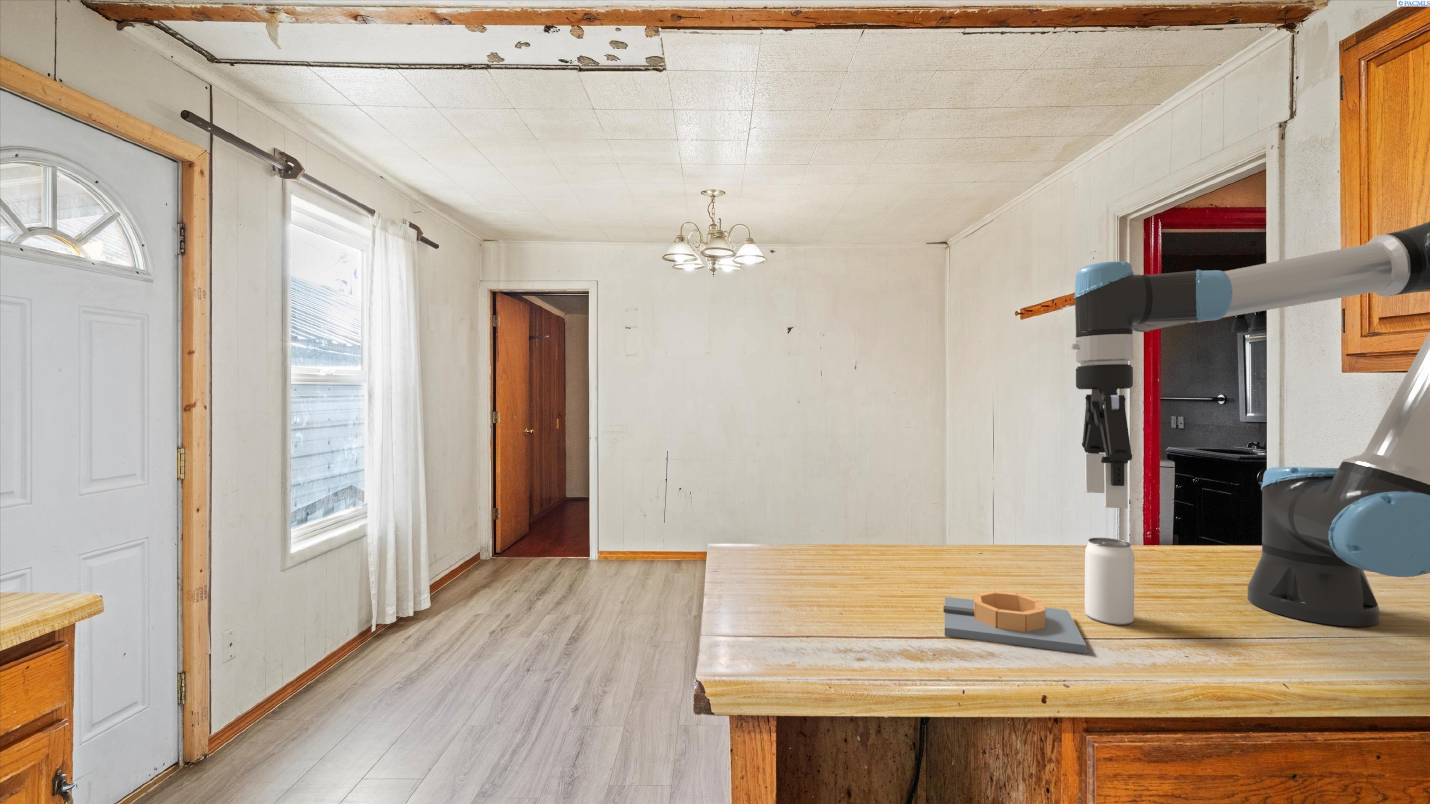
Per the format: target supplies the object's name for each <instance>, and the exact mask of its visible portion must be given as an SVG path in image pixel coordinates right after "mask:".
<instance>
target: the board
mask: <svg viewBox="0 0 1430 804" xmlns="http://www.w3.org/2000/svg"><path fill="white" fill-rule="evenodd" d="M943 613H944V636H946V637H952V638H959V639H960V638H961V639H966V640H967V639H968V640H977V641H983V642H990V643H991V642H992V643H999V644H1005V645H1006V644H1007V645H1013V646H1022V647H1029V648H1038V649H1045V650H1052V651H1053V650H1054V651H1059V652H1060V651H1062V652H1066V653H1067V652H1068V653H1069V652H1070V653H1075V654H1076V653H1077V654H1083V655H1086V654H1087V644H1086V642H1085V640H1084V638H1083V636H1082V634H1081V633H1080V630H1079V628H1078V627H1077V625H1076V623H1075V621H1074V620H1073V618H1072V615H1071V614H1070V611H1069V610H1068V609H1062V608H1052V607H1045V606H1044V604H1043V602H1042V601H1041V600H1039V599H1035V598H1033V597H1030V596H1027V595H1025V594H1021V593H1017V592H1016V593H1015V592H1005V591H996V590H990V591H986V592H985V591H984V592H979V593H975V594H973V599H969V598H968V599H967V598H959V597H951V596H945V597H944V605H943Z"/></svg>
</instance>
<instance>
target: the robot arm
mask: <svg viewBox="0 0 1430 804" xmlns="http://www.w3.org/2000/svg"><path fill="white" fill-rule="evenodd" d="M1074 288H1075V289H1074V296H1073V299H1074V308H1075V309H1074V310H1075V312H1074V313H1075V315H1074V316H1075V343H1073V344H1072V345H1071V349H1072V350H1073V351H1076V352H1075V362H1077V363H1079V364H1080V366H1077V367H1076V368H1075V388H1076V389H1078V390H1091V394H1086V395H1085V398H1084V399H1085V414H1084V421H1083V422H1084V425H1083V434H1082V442H1081V446H1082V448H1083V450H1084V452H1085V453H1084V454H1085V455H1084V461H1085V462H1084V466H1085V467H1084V468H1085V469H1084V470H1085V473H1084V474H1085V478H1084V479H1085V484H1084V485H1085V493H1091V494H1092V493H1093V494H1094V493H1095V494H1104V507H1105V508H1108V509H1109V508H1111V509H1128V508H1129V507H1128V505H1129V504H1128V502H1129V501H1128V497H1129V496H1128V464H1129V462H1130V461H1132V459H1133V454H1132V448H1131V441H1130V434H1129V427H1128V420H1127V412H1126V397H1125V394H1119V393H1118V390H1121V389H1122V390H1127V389H1131V388H1132V387H1133V386H1134V366H1132V364H1129V362H1130V361H1133V360H1134V334H1133V332H1136V333H1137V332H1138V333H1144V332H1145V333H1146V332H1151V331H1154V330H1158V329H1163V328H1170V327H1175V326H1181V325H1185V324H1187V325H1188V324H1190V323H1192V324H1193V323H1202V322H1207V321H1208V322H1211V321H1217V320H1221V319H1223V318H1228V317H1233V316H1234V317H1235V316H1239V315H1245V314H1252V313H1257V312H1263V311H1268V310H1269V311H1270V310H1277V309H1282V308H1288V307H1295V306H1299V305H1305V304H1312V303H1316V302H1317V303H1318V302H1324V301H1329V300H1335V299H1341V298H1347V297H1353V296H1354V297H1355V296H1359V295H1360V296H1361V295H1365V294H1371V293H1374V294H1376V295H1377V296H1379V297H1385V298H1387V297H1388V298H1389V297H1394V296H1400V295H1406V294H1414V293H1425V292H1430V221H1427V222H1423V223H1421V224H1418V225H1416V226H1413V227H1412V226H1411V227H1408V228H1406V229H1405V228H1404V229H1402V230H1398V231H1394V232H1388V233H1384V234H1379V235H1378V234H1377V235H1376V236H1373V237H1372V238H1371V239H1369V241H1368V242H1367V243H1366V244H1360V245H1356V246H1351V247H1350V246H1349V247H1346V248H1340V249H1336V250H1335V249H1334V250H1329V251H1324V252H1319V253H1314V254H1309V255H1303V256H1298V257H1294V258H1293V257H1292V258H1287V259H1281V260H1277V261H1272V262H1266V263H1260V264H1256V265H1251V266H1246V267H1241V268H1240V267H1239V268H1235V269H1230V270H1224V271H1223V270H1217V269H1214V270H1201V269H1196V270H1192V271H1191V270H1190V271H1180V272H1168V273H1167V272H1165V273H1154V274H1153V273H1152V274H1134V270H1133V266H1132V264H1131V263H1129V262H1128V261H1106V262H1098V263H1092V264H1091V263H1090V264H1087V265H1085V266H1083V267H1081V268H1080V269H1078V271H1077V272H1076V275H1075V286H1074ZM1392 398H1393V399H1392V401H1390V404H1389V406H1388V407H1387V409H1386V412H1385V413H1384V415H1383V417H1382V419H1381V420H1380V422H1379V424H1378V426H1377V428H1376V429H1375V432H1374V433H1373V435H1372V437H1371V439H1370V440H1369V443H1367V444H1368V445H1367V446H1366V448H1365V450H1364V452H1362V453H1361V454H1358V455H1356V456H1352V457H1347V458H1345V459H1343V460H1342V461H1341V463H1340V465H1339V466H1338V467H1311V466H1310V467H1306V466H1305V467H1304V466H1303V467H1302V466H1300V467H1299V466H1274V467H1270V468H1267V469H1266V470H1265V471H1264V473H1263V476H1262V477H1263V478H1262V485H1261V487H1260V490H1261V497H1262V498H1261V557H1260V559H1259V561H1258V563H1257V565H1256V568H1255V569H1254V570H1253V571H1254V572H1253V574H1252V577H1251V578H1250V579H1249V583H1248V585H1247V600H1248V601H1249V602H1250V603H1251V604H1253V605H1254V606H1255V607H1259V608H1261V609H1263V610H1266V611H1268V612H1272V613H1274V614H1278V615H1281V616H1285V617H1289V618H1293V619H1297V620H1302V621H1306V622H1307V621H1308V622H1311V623H1317V624H1324V625H1331V626H1341V627H1357V628H1358V627H1373V626H1375V625H1378V624H1379V623H1380V607H1379V604H1378V602H1377V600H1376V597H1375V595H1374V592H1373V589H1372V587H1371V585H1370V583H1369V580H1368V578H1367V575H1366V573H1365V571H1367V572H1371V573H1377V574H1379V575H1381V576H1382V575H1383V576H1388V577H1396V578H1410V577H1411V578H1412V577H1417V576H1423V575H1428V574H1430V331H1429V332H1428V333H1427V335H1426V337H1425V340H1424V341H1423V343H1422V344H1421V346H1420V349H1419V350H1418V352H1417V353H1416V356H1415V358H1414V359H1413V361H1412V363H1411V365H1410V367H1409V368H1408V371H1407V372H1406V374H1405V376H1404V378H1403V380H1402V382H1401V383H1400V385H1399V387H1398V389H1397V391H1396V392H1395V394H1394V397H1392Z"/></svg>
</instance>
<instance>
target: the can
mask: <svg viewBox="0 0 1430 804" xmlns="http://www.w3.org/2000/svg"><path fill="white" fill-rule="evenodd" d="M1087 541H1088V543H1087V545H1086V547H1085V549H1084V550H1085V551H1084V613H1085V614H1086V616H1087V617H1088V618H1090V619H1092V620H1093V621H1095V622H1099V623H1102V624H1107V625H1112V626H1113V625H1114V626H1126V625H1127V626H1128V625H1130V624H1132V623H1133V622H1134V620H1135V619H1134V618H1135V554H1134V551H1133V549H1132V548H1131V546H1132V544H1131V543H1130V542H1129V541H1126V540H1122V539H1118V538H1110V537H1091V538H1088V540H1087Z"/></svg>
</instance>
